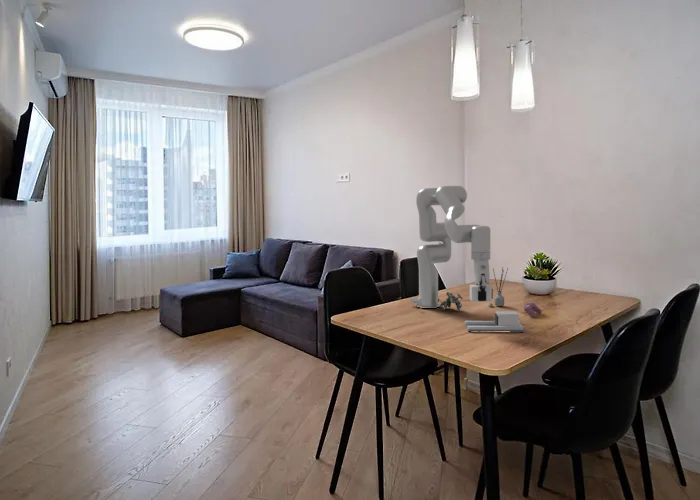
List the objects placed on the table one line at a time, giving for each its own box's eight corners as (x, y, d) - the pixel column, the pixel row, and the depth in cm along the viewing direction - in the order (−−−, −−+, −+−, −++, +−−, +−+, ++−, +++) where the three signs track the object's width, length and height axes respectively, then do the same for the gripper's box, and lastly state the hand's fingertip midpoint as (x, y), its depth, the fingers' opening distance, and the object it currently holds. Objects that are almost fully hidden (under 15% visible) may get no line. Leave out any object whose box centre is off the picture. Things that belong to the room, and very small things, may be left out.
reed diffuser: (504, 304, 229) (505, 265, 226) (512, 307, 222) (512, 267, 220) (486, 305, 226) (486, 266, 224) (493, 309, 220) (494, 268, 217)
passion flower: (458, 322, 218) (467, 305, 210) (437, 319, 216) (445, 302, 209) (454, 304, 226) (463, 288, 219) (434, 301, 225) (442, 285, 217)
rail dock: (468, 332, 183) (468, 315, 182) (464, 325, 193) (464, 309, 192) (523, 332, 181) (524, 315, 180) (517, 325, 191) (517, 309, 190)
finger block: (471, 301, 184) (471, 287, 183) (469, 298, 188) (469, 284, 188) (492, 301, 183) (493, 286, 182) (490, 298, 188) (490, 284, 187)
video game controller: (533, 315, 212) (527, 302, 213) (543, 312, 209) (536, 298, 210) (527, 320, 204) (520, 306, 205) (536, 317, 201) (529, 302, 203)
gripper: (494, 258, 175) (494, 303, 177) (486, 253, 192) (485, 295, 194) (475, 258, 176) (475, 303, 177) (468, 253, 193) (468, 295, 194)
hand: (480, 298), depth 185 cm, fingers closed on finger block, 5 cm apart
